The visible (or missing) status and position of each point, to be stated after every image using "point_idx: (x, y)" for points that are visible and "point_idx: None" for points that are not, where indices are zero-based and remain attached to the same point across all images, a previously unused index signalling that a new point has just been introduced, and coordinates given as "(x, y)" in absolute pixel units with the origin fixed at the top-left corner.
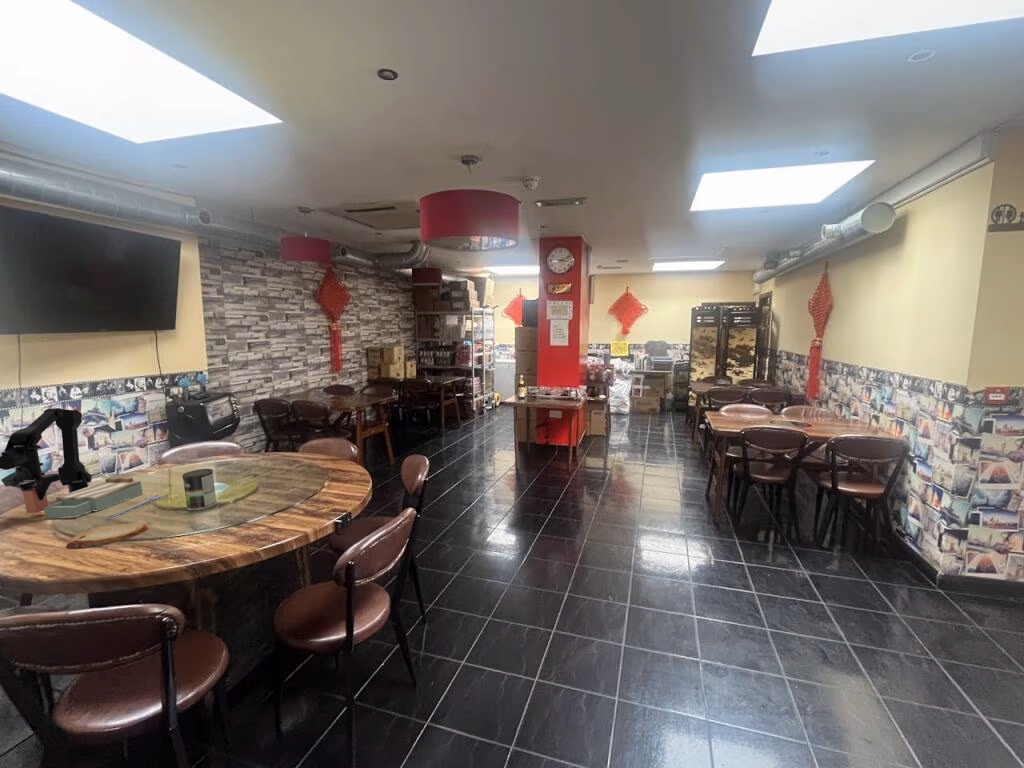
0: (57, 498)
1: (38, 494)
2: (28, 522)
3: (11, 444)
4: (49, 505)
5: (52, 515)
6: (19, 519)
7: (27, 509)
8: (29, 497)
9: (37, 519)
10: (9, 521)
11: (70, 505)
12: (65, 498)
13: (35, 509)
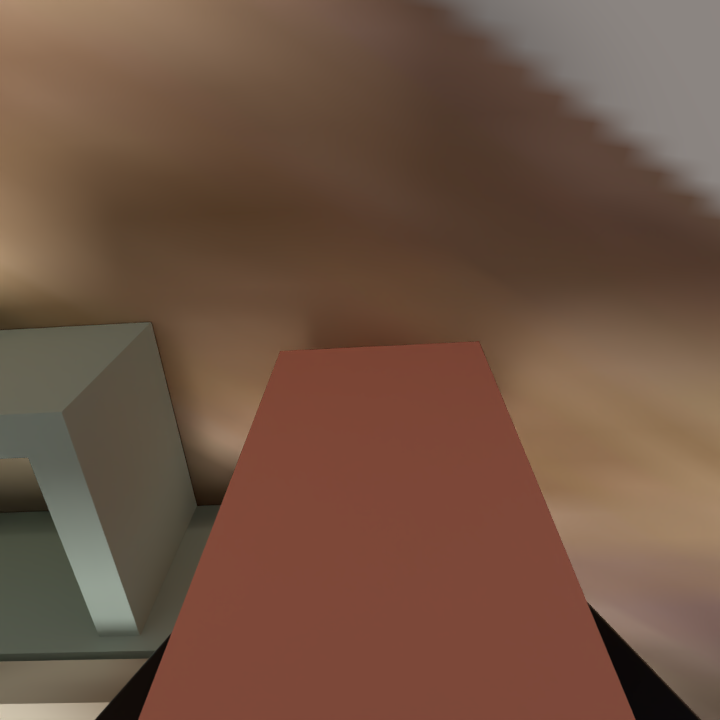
0: None
1: (125, 707)
2: (232, 166)
3: None
4: (74, 489)
5: (4, 347)
6: (569, 263)
7: (458, 371)
8: (347, 574)
9: (236, 280)
10: (665, 179)
11: (18, 579)
12: (12, 685)
13: (274, 380)
